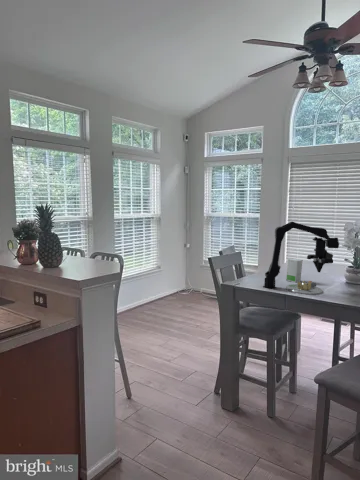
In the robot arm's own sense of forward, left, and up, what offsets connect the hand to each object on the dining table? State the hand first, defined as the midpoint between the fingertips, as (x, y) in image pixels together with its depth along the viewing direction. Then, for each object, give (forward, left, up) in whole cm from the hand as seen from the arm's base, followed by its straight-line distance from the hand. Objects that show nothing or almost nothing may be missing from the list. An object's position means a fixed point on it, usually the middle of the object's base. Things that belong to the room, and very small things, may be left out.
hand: (319, 272), depth 224 cm
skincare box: (+6, +26, -12) cm, 29 cm away
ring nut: (-5, +4, -10) cm, 12 cm away
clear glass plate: (-8, +4, -12) cm, 15 cm away
